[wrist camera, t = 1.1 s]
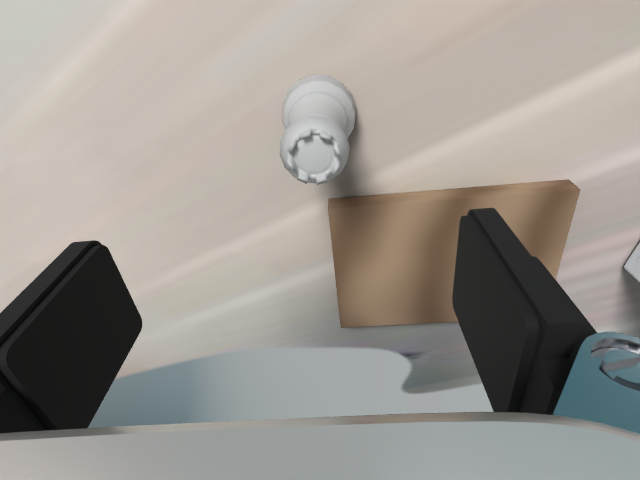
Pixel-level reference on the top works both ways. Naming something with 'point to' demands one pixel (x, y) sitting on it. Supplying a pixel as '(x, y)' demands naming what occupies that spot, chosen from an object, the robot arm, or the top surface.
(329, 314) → the top surface
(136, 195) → the top surface
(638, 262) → the skincare box
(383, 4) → the top surface
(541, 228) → the walnut board
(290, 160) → the rook chess piece
